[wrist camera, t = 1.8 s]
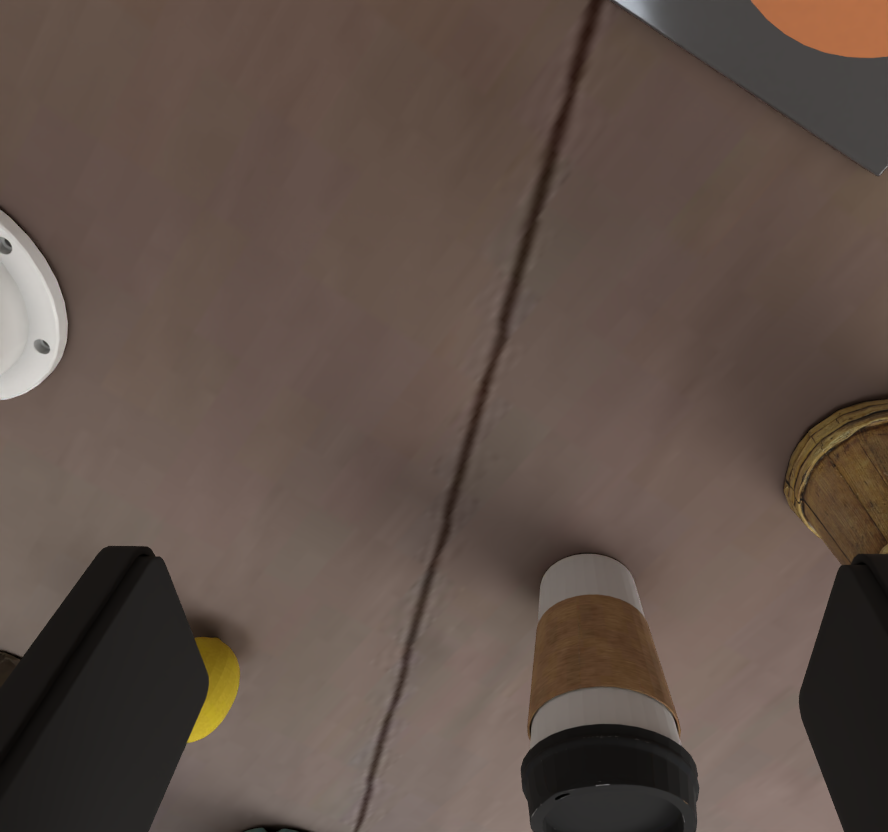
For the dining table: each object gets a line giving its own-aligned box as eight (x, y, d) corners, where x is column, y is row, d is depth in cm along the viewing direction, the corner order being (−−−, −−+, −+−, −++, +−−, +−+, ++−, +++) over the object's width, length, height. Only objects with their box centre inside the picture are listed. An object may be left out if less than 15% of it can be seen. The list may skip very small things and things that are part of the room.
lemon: (269, 649, 50) (231, 753, 44) (216, 672, 52) (171, 774, 46) (217, 602, 48) (167, 704, 42) (163, 628, 50) (108, 729, 44)
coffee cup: (598, 515, 41) (632, 756, 28) (683, 594, 44) (748, 845, 31) (493, 580, 45) (482, 819, 32) (577, 649, 47) (598, 894, 35)
